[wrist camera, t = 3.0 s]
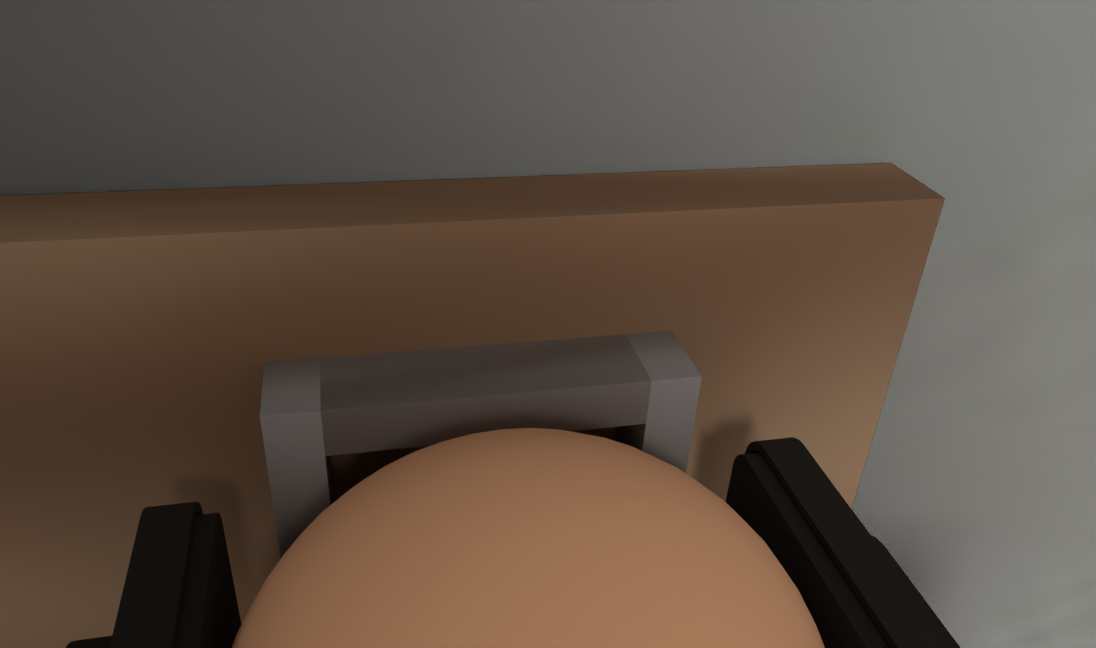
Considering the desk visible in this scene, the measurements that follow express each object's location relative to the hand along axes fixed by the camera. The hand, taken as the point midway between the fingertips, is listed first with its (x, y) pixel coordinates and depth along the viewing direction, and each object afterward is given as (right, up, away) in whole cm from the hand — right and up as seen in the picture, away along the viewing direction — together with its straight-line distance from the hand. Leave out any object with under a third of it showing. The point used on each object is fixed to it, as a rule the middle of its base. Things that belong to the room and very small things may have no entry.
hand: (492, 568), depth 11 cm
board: (-2, -8, +7) cm, 11 cm away
